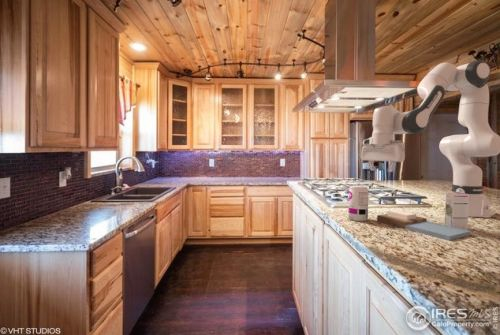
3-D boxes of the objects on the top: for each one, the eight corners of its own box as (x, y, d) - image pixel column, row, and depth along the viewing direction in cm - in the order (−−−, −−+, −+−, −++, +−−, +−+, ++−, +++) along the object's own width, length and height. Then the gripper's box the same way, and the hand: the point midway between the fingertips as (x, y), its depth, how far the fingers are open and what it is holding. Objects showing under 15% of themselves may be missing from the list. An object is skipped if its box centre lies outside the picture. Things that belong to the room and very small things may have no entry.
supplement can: (347, 220, 121) (348, 187, 120) (348, 216, 128) (349, 184, 128) (367, 222, 118) (368, 188, 117) (367, 218, 125) (368, 185, 124)
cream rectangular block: (396, 214, 123) (396, 209, 122) (416, 218, 115) (416, 213, 114) (387, 215, 120) (387, 211, 120) (407, 220, 112) (407, 215, 112)
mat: (426, 224, 115) (426, 220, 115) (471, 234, 100) (471, 230, 100) (405, 228, 108) (405, 224, 108) (449, 240, 94) (449, 236, 94)
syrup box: (468, 231, 105) (470, 194, 104) (451, 230, 106) (452, 193, 105) (460, 227, 111) (461, 191, 110) (443, 226, 112) (445, 191, 111)
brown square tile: (397, 217, 126) (397, 212, 126) (426, 224, 115) (426, 218, 115) (376, 221, 120) (377, 215, 120) (405, 228, 108) (405, 222, 108)
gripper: (408, 140, 117) (407, 172, 117) (368, 141, 135) (367, 169, 136) (399, 139, 114) (398, 172, 115) (359, 141, 132) (358, 169, 133)
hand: (381, 171), depth 125 cm, fingers open, 8 cm apart
